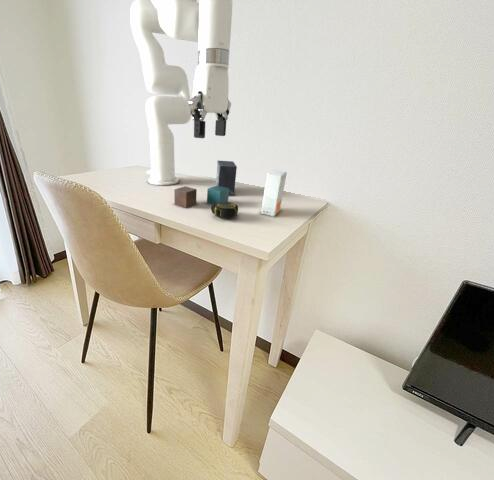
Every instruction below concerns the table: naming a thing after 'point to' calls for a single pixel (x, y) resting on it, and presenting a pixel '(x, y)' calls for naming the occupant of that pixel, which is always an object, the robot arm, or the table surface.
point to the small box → (226, 175)
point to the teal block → (217, 195)
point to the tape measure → (225, 210)
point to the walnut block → (185, 196)
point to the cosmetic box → (273, 192)
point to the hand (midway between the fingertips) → (210, 136)
